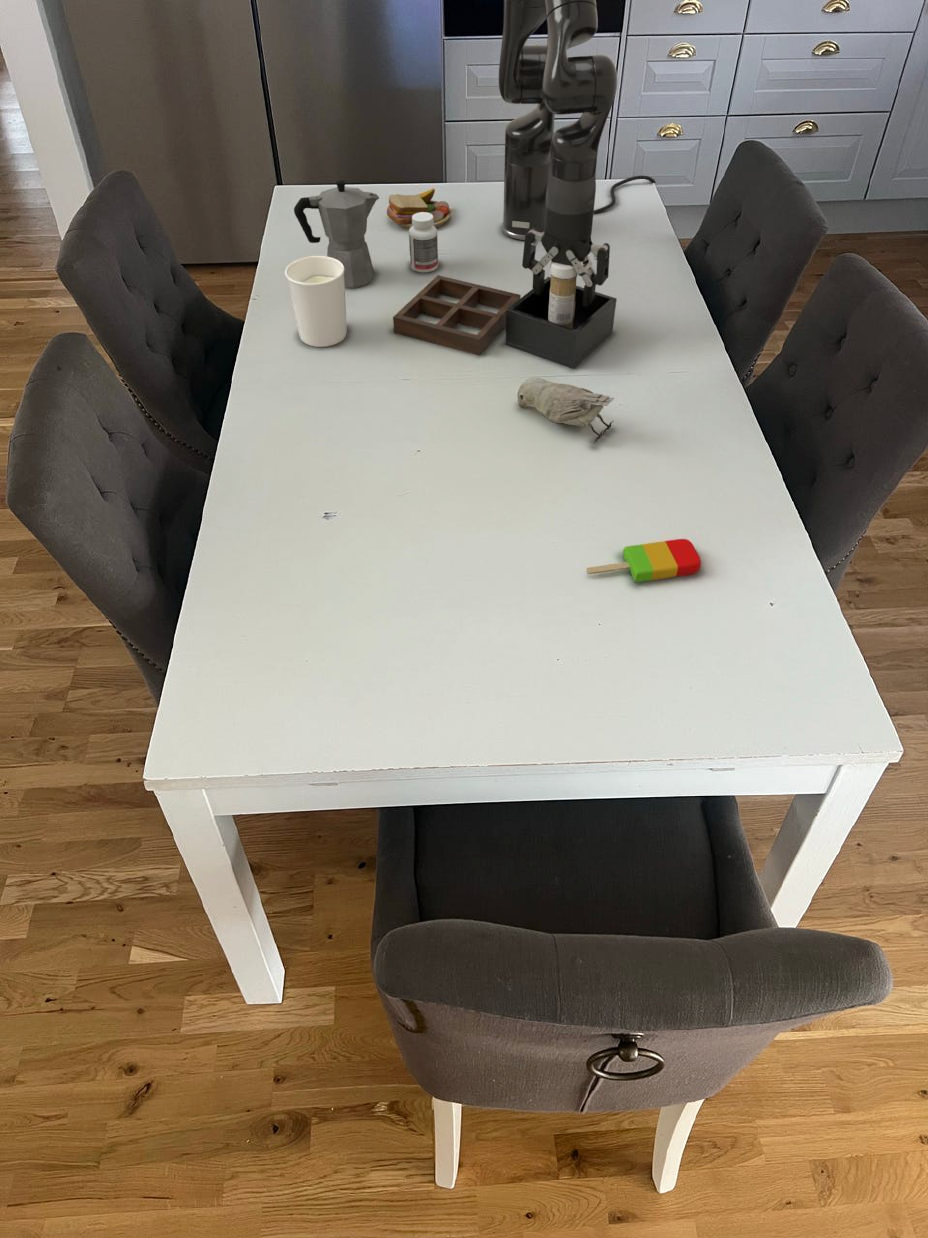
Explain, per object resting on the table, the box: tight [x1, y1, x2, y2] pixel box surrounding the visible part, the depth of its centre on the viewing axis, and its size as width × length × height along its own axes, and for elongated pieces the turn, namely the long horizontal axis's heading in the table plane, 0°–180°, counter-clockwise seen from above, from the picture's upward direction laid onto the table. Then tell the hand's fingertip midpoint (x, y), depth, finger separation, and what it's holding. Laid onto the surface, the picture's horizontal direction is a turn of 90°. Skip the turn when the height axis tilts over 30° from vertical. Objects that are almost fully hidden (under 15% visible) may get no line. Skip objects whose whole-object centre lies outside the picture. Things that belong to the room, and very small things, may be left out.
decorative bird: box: [517, 377, 615, 444], centre depth 141 cm, size 5×16×8 cm, turn 55°
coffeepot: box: [293, 179, 380, 289], centre depth 169 cm, size 15×9×18 cm, turn 103°
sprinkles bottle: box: [548, 261, 578, 329], centre depth 155 cm, size 5×5×13 cm
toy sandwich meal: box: [386, 187, 452, 230], centre depth 190 cm, size 12×14×5 cm
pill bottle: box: [408, 212, 439, 274], centre depth 174 cm, size 5×5×10 cm
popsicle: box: [586, 538, 702, 583], centre depth 121 cm, size 6×15×2 cm, turn 101°
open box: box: [504, 276, 618, 370], centre depth 158 cm, size 14×14×7 cm
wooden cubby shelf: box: [392, 274, 522, 356], centre depth 163 cm, size 17×17×3 cm
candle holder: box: [284, 255, 348, 348], centre depth 157 cm, size 10×10×12 cm
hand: (562, 298), depth 155 cm, fingers open, 8 cm apart
